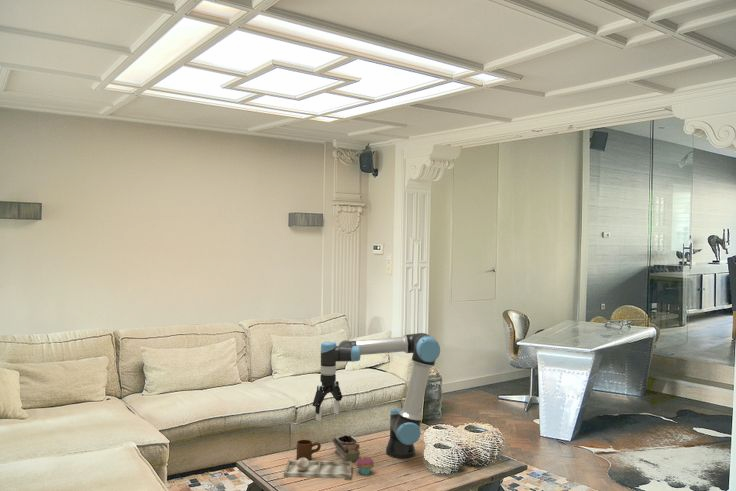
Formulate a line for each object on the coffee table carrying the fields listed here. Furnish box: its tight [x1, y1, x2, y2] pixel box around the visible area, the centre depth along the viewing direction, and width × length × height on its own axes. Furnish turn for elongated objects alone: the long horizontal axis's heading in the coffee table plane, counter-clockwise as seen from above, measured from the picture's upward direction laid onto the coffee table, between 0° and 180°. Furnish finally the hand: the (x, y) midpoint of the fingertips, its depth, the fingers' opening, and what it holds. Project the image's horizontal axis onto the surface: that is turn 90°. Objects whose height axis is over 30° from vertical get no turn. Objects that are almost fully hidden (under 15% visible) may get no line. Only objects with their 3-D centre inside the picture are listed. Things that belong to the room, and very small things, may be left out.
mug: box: [296, 439, 322, 461], centre depth 305 cm, size 12×8×9 cm, turn 99°
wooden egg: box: [297, 457, 309, 471], centre depth 290 cm, size 6×6×6 cm
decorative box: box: [331, 434, 361, 463], centre depth 312 cm, size 13×20×10 cm, turn 17°
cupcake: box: [355, 448, 375, 476], centre depth 292 cm, size 9×8×12 cm
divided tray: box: [283, 459, 352, 481], centre depth 290 cm, size 31×16×2 cm, turn 91°
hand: (327, 416), depth 300 cm, fingers open, 13 cm apart
